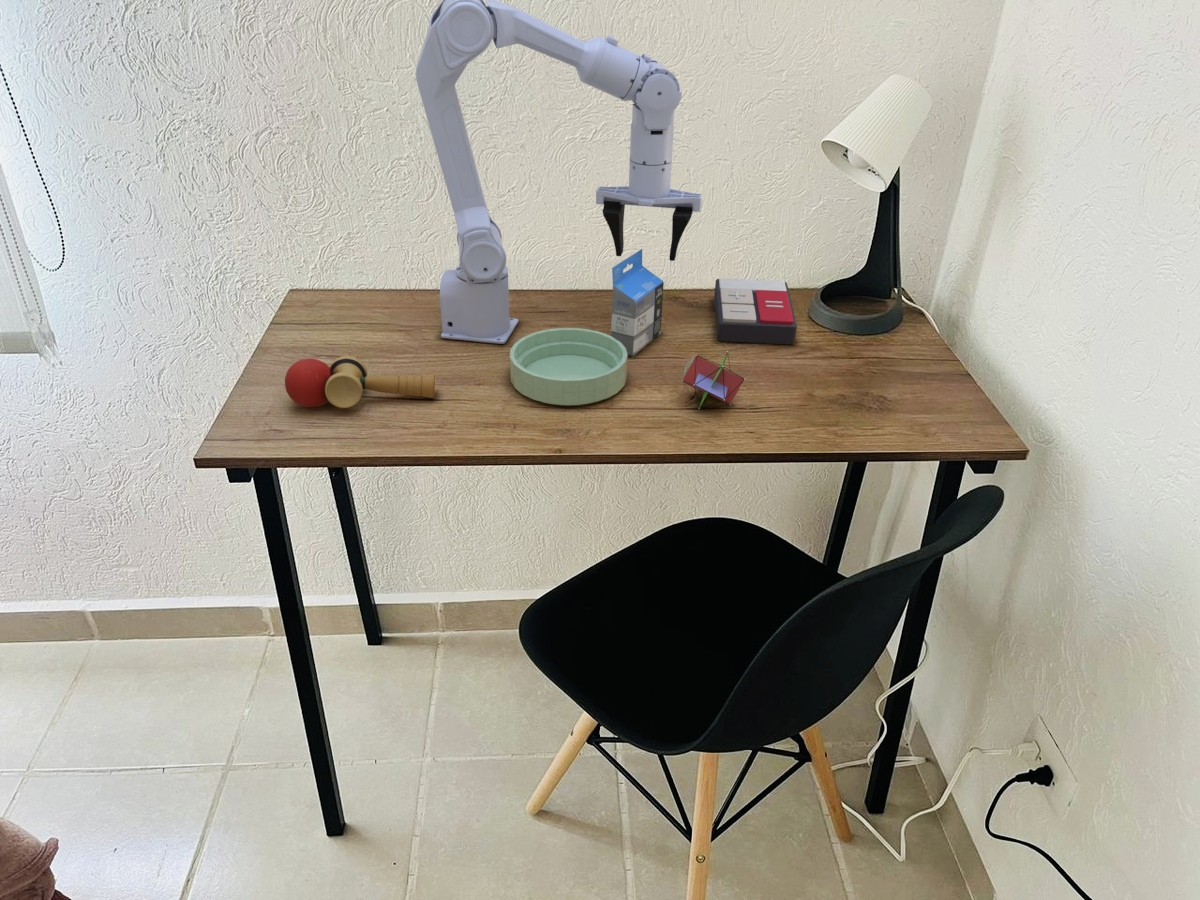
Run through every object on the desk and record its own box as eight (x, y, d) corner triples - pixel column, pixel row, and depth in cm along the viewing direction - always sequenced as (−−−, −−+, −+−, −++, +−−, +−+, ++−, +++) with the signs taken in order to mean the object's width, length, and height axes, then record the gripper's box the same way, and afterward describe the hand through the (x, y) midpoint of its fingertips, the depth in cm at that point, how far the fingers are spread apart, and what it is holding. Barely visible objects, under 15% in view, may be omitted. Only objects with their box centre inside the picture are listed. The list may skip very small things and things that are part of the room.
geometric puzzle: (757, 380, 117) (724, 330, 114) (751, 406, 111) (716, 353, 109) (710, 404, 120) (677, 355, 118) (702, 429, 115) (667, 379, 112)
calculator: (719, 318, 129) (716, 273, 141) (717, 345, 132) (713, 299, 144) (798, 322, 129) (787, 276, 141) (794, 348, 131) (783, 302, 143)
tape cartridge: (633, 358, 126) (637, 273, 120) (608, 351, 128) (611, 267, 121) (661, 334, 133) (666, 253, 126) (638, 328, 135) (641, 248, 128)
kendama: (432, 388, 121) (289, 380, 117) (435, 349, 117) (287, 339, 112) (433, 426, 115) (282, 419, 111) (436, 387, 111) (280, 378, 107)
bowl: (497, 401, 115) (495, 373, 113) (527, 349, 128) (526, 323, 126) (615, 414, 113) (616, 386, 111) (634, 360, 126) (635, 333, 124)
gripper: (592, 164, 121) (591, 261, 128) (701, 171, 119) (693, 270, 126) (602, 150, 127) (600, 244, 134) (706, 157, 125) (698, 252, 132)
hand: (646, 256), depth 131 cm, fingers open, 7 cm apart
